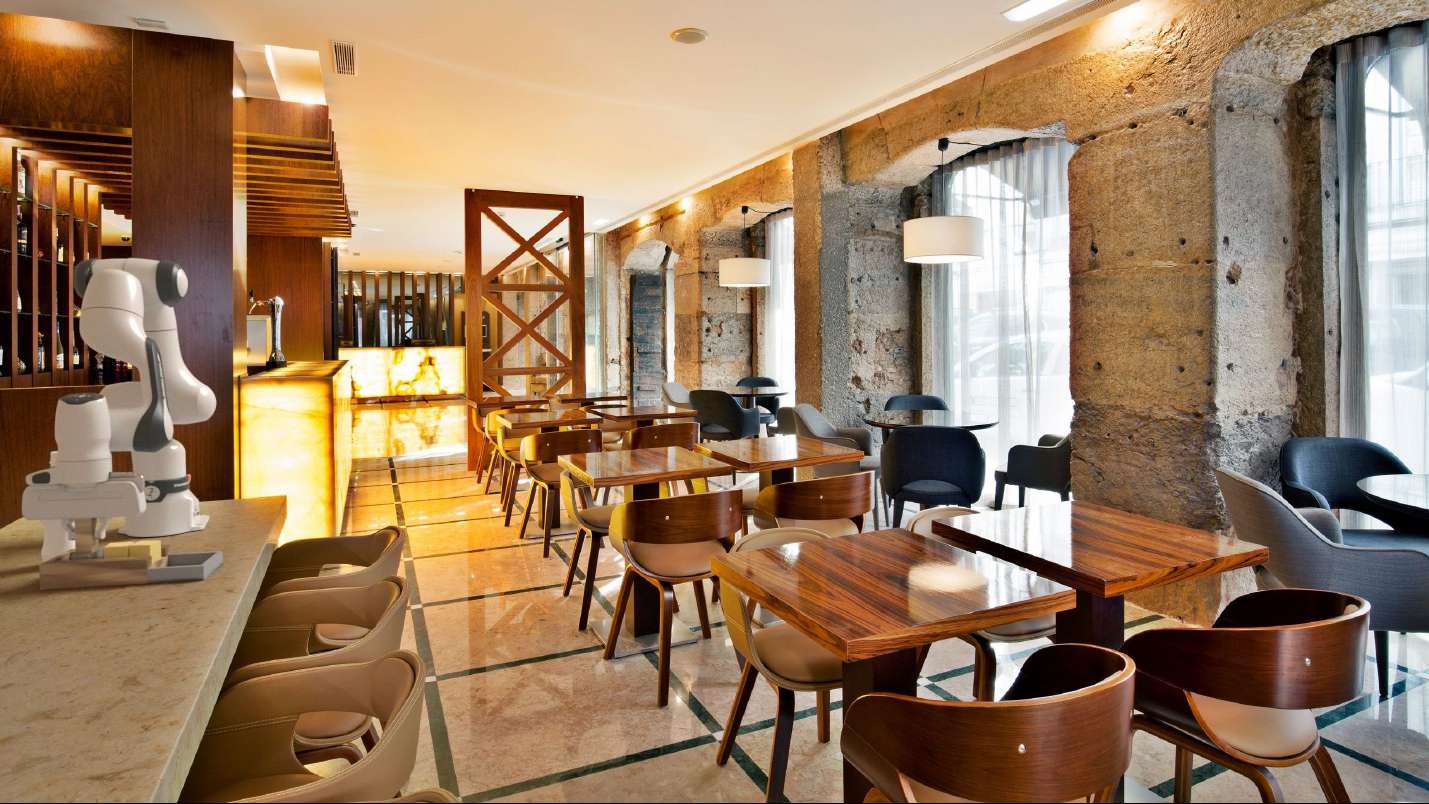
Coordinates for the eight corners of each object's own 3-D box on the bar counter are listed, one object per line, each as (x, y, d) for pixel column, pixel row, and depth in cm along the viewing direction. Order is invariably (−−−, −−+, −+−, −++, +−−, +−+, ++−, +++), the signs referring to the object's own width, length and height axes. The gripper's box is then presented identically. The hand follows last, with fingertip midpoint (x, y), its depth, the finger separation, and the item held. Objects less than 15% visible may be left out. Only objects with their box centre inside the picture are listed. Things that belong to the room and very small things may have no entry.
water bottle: (59, 570, 161) (55, 454, 160) (32, 568, 163) (28, 453, 161) (93, 561, 168) (89, 450, 167) (67, 559, 170) (63, 449, 168)
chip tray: (170, 567, 165) (170, 553, 165) (222, 564, 168) (222, 551, 168) (147, 583, 154) (146, 568, 154) (203, 580, 157) (203, 565, 157)
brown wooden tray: (71, 572, 160) (70, 549, 160) (170, 567, 165) (169, 544, 165) (40, 589, 149) (39, 564, 148) (147, 583, 154) (146, 559, 154)
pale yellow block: (110, 561, 158) (110, 542, 158) (133, 560, 160) (133, 541, 160) (104, 566, 155) (103, 547, 154) (127, 565, 156) (127, 546, 156)
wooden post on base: (86, 560, 158) (84, 510, 157) (103, 559, 159) (101, 510, 158) (71, 568, 152) (69, 517, 152) (88, 567, 153) (87, 516, 153)
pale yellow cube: (140, 559, 161) (140, 540, 160) (161, 558, 161) (160, 540, 161) (129, 564, 157) (128, 545, 156) (150, 563, 157) (149, 545, 157)
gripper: (150, 469, 161) (152, 533, 162) (33, 471, 155) (36, 537, 156) (137, 473, 155) (139, 540, 156) (15, 476, 149) (18, 545, 150)
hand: (87, 539), depth 156 cm, fingers closed on wooden post on base, 3 cm apart
